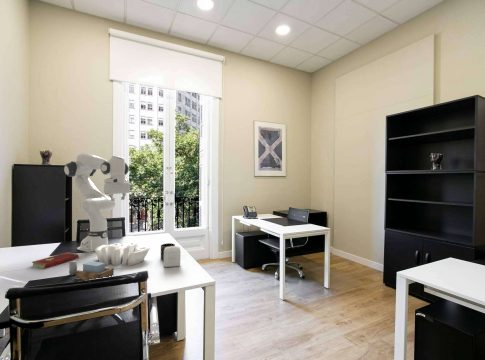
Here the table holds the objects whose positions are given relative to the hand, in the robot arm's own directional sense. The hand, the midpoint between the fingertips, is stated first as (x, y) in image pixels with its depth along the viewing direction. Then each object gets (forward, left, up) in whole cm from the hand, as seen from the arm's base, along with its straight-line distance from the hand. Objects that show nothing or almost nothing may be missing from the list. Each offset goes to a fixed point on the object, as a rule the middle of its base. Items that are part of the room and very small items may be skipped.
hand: (117, 200), depth 169 cm
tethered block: (+12, -29, -40) cm, 51 cm away
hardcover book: (-30, -19, -41) cm, 54 cm away
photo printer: (+43, 0, -40) cm, 59 cm away
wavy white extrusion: (+6, -3, -40) cm, 41 cm away
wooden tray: (+12, -29, -40) cm, 51 cm away
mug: (+33, +12, -40) cm, 53 cm away
